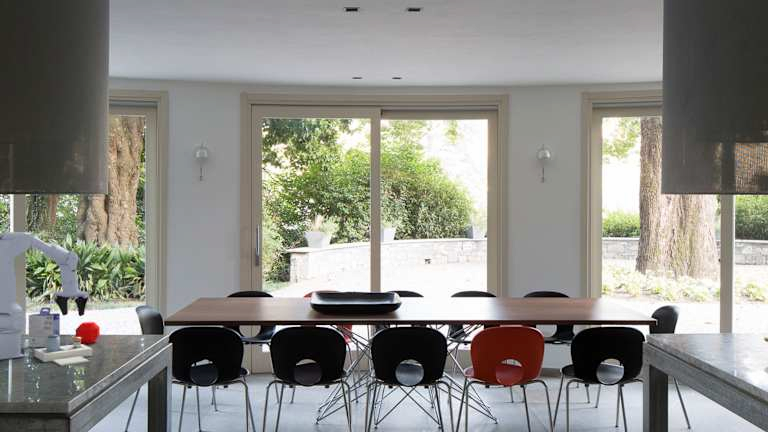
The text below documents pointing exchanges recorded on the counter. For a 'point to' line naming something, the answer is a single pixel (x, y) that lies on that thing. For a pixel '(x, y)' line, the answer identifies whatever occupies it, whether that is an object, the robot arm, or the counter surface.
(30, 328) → the ink cartridge box
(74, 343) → the plunger
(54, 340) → the capped blue cylinder
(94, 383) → the counter surface
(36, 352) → the white panel with holes
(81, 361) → the stone coaster
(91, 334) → the ball
